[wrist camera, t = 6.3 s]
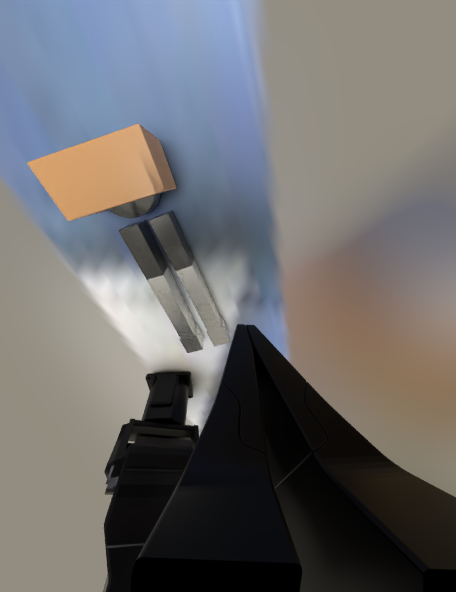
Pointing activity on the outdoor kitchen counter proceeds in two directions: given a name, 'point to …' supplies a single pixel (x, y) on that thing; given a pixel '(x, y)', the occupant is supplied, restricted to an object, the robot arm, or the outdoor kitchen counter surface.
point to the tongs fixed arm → (158, 271)
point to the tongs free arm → (190, 275)
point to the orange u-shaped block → (105, 172)
